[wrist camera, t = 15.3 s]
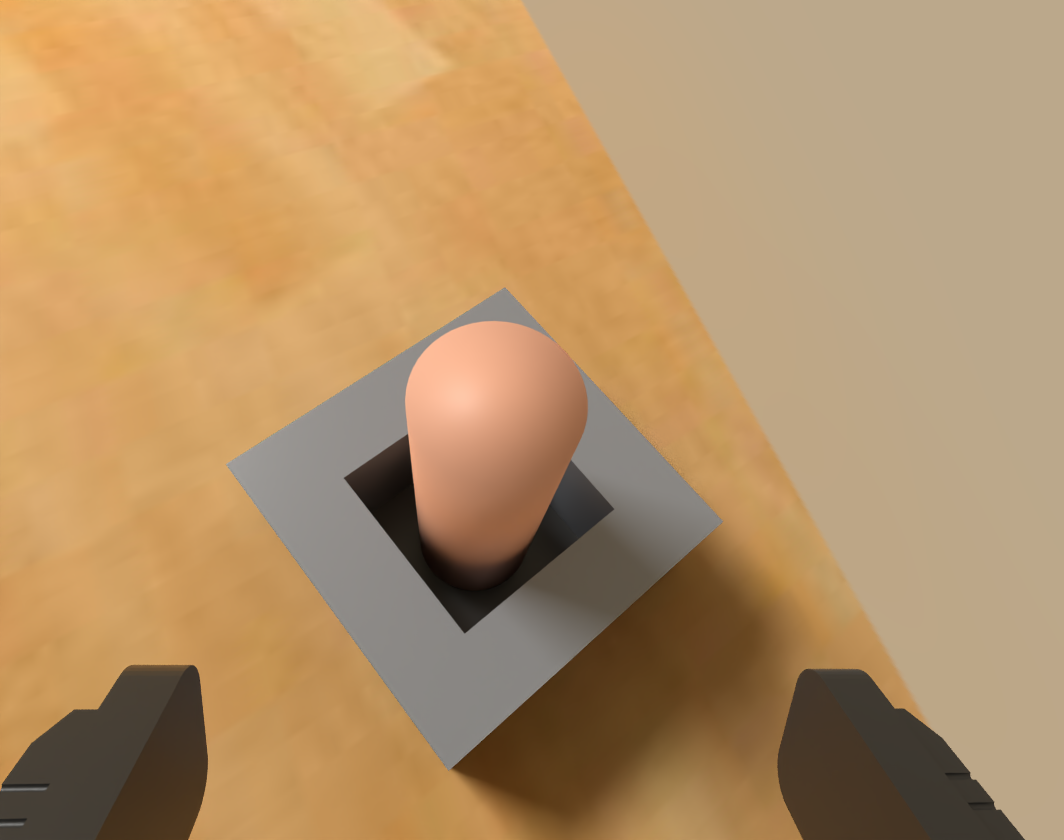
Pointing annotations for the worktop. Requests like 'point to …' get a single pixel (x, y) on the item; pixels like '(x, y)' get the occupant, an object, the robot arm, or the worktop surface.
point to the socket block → (438, 608)
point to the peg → (489, 445)
